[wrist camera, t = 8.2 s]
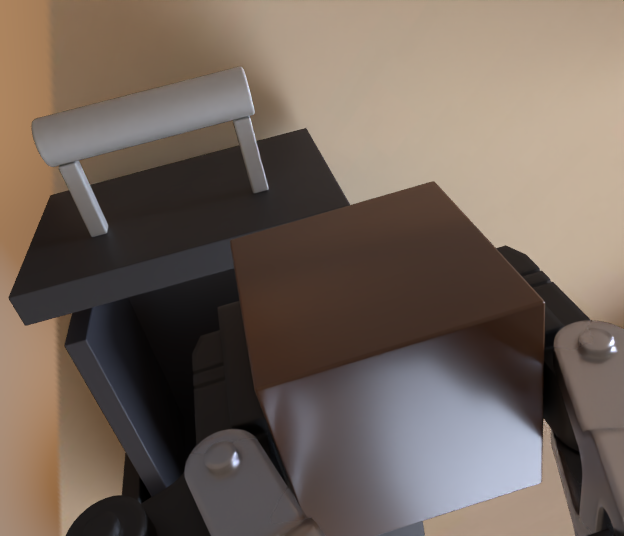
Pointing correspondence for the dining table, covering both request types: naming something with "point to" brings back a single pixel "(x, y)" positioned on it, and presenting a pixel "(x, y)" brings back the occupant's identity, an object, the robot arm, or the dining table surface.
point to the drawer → (157, 249)
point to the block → (393, 360)
